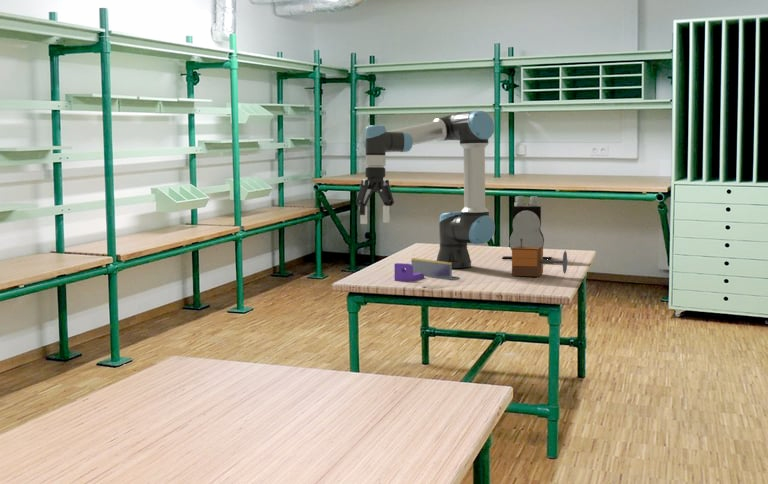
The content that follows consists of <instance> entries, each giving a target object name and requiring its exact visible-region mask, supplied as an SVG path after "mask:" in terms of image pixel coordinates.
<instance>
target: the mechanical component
mask: <svg viewBox="0 0 768 484" xmlns="http://www.w3.org/2000/svg"><path fill="white" fill-rule="evenodd" d="M515 198H516V199H515V200H516V202H514V203H513V204H514V205H513V206H512V229H513V230H512V233H511V235H510V237H509V247H510V250H511V251H512V248H514V247H518V246H521V241H520V239H522V246H534V247H543V248H544V245H545V244H544V243H545V237H544V234H543V232H542V231H541V227H542V206H541V204H540V203H541V202H539V201H538V200H539V199H538V196H537V195H535V196H534V195H533V196H530V201H529V202H528V203H527V202H525V201H524V199H525V196H523V195H518V196H516V197H515ZM526 204H527V205H528V206H527V205H526ZM502 259H512V255H511V256H508V255H507V256H504V255H503V256H502V257H501V260H502ZM543 259H548V260H551V259H552V260H553V257H552V256H543Z"/></svg>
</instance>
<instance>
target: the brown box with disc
mask: <svg viewBox="0 0 768 484" xmlns="http://www.w3.org/2000/svg"><path fill="white" fill-rule="evenodd" d="M520 241H521V246H518V247H514V248H512V250H511V256H512V260H511V275H512V276H518V277H520V276H521V277H539V276H541V275H542V273H543V274H544V265H546V264H548V265H549V264H550V265H552V264H562V272H563V273H564V275H565V274H566V273H567V269H568V268H567V267H568V253H567V250H564V252H563V254H562V260H558V259H557V260H554V259H552V260H547V259H543V257H544V246H543V247H534V246H522V239H520Z"/></svg>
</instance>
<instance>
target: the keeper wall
mask: <svg viewBox="0 0 768 484" xmlns="http://www.w3.org/2000/svg"><path fill="white" fill-rule="evenodd" d="M411 265H412V266H413V273H422V274H424V277H427V278H433V279H442V280H447V281H452V280H453V281H454V280H460V279H461V277H459V276H453V270H452V269H453V268H452V263H451V262H443V261H436V260H433V259H426V258H417V257H411Z"/></svg>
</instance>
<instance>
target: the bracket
mask: <svg viewBox="0 0 768 484" xmlns="http://www.w3.org/2000/svg"><path fill="white" fill-rule="evenodd" d="M421 279H425V276H424V274H422V273H413V266H412V263H403V262H401V263H400V262H397V263H394V281H395V282H397V281H399V282H409V283H410V282H414V281H419V280H421Z"/></svg>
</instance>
